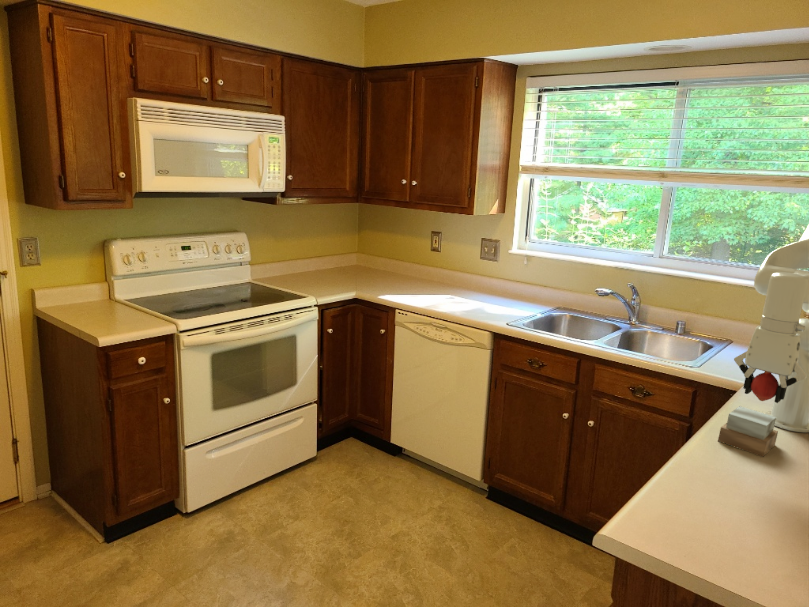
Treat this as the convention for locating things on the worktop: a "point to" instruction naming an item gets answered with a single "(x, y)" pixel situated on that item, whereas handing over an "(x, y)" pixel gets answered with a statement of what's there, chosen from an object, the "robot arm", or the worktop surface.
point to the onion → (764, 386)
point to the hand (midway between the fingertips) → (762, 396)
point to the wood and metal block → (749, 431)
